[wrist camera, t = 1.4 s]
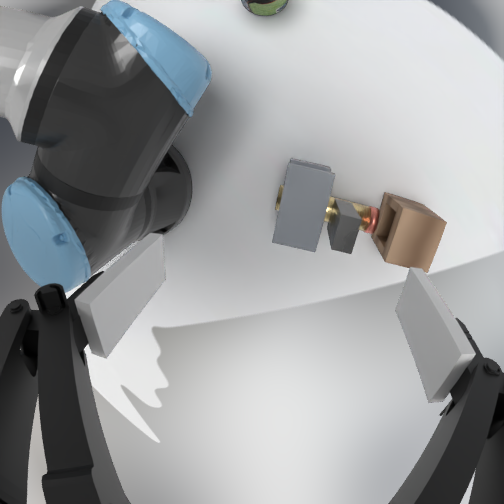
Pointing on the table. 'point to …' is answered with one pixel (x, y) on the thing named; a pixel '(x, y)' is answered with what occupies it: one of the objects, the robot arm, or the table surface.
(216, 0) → the table surface
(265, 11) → the beverage can
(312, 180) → the grey slotted clamp block
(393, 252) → the socket block
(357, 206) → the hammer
